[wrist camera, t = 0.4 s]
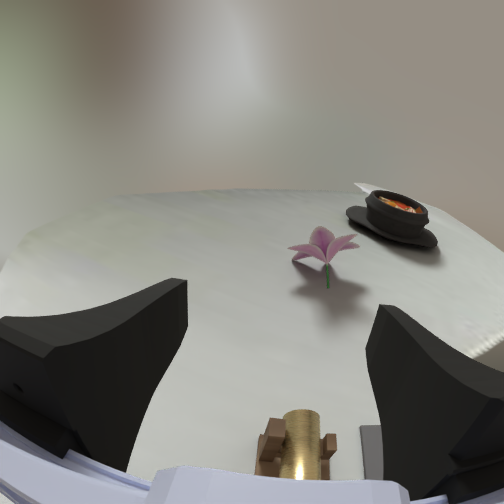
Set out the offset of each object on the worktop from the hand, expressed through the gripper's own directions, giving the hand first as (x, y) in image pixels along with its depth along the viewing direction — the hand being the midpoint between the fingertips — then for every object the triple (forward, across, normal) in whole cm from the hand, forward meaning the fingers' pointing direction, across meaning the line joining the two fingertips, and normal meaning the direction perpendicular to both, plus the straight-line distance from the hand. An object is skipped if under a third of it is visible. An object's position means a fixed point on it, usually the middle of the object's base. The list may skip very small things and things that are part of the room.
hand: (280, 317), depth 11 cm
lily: (+38, -7, +14) cm, 41 cm away
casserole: (+63, -27, +11) cm, 69 cm away
